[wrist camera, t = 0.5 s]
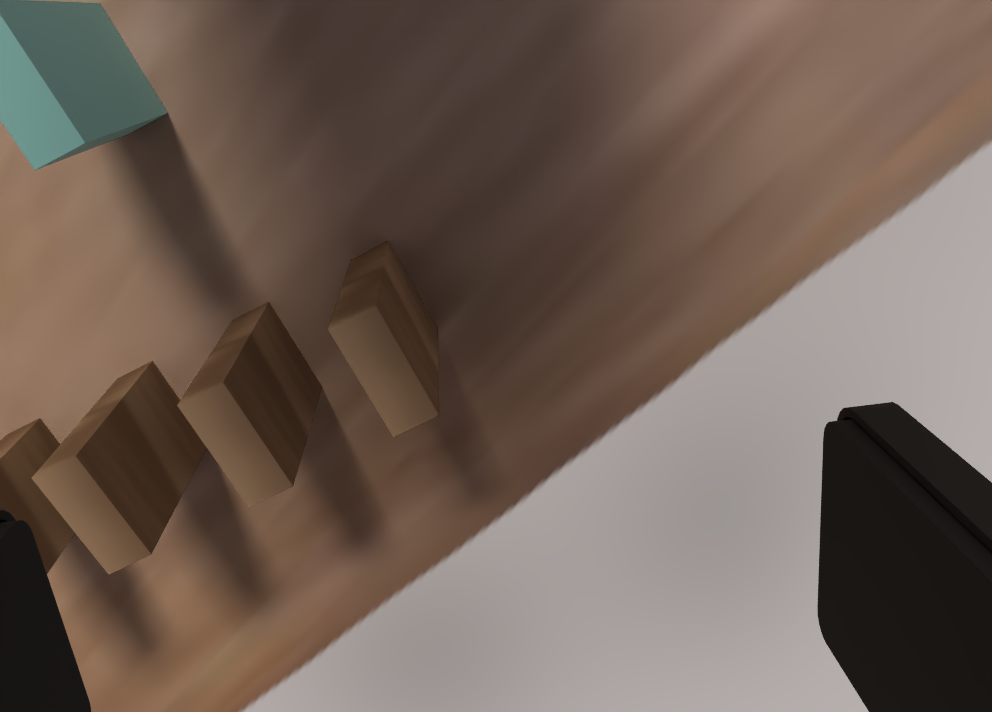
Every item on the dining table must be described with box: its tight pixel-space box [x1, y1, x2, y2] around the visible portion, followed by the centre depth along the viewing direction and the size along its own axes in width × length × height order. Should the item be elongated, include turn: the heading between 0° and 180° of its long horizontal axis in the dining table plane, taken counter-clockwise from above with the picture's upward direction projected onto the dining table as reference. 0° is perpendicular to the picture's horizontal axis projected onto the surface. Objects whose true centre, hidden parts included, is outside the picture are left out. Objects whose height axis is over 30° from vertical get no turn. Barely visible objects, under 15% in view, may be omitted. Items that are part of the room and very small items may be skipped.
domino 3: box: [177, 302, 322, 507], centre depth 39 cm, size 2×5×10 cm, turn 26°
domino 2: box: [32, 361, 207, 575], centre depth 40 cm, size 2×5×10 cm, turn 26°
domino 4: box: [328, 241, 439, 437], centre depth 38 cm, size 2×5×10 cm, turn 26°
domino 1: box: [0, 418, 75, 574], centre depth 40 cm, size 2×5×10 cm, turn 26°
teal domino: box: [0, 0, 168, 170], centre depth 34 cm, size 2×5×10 cm, turn 26°
